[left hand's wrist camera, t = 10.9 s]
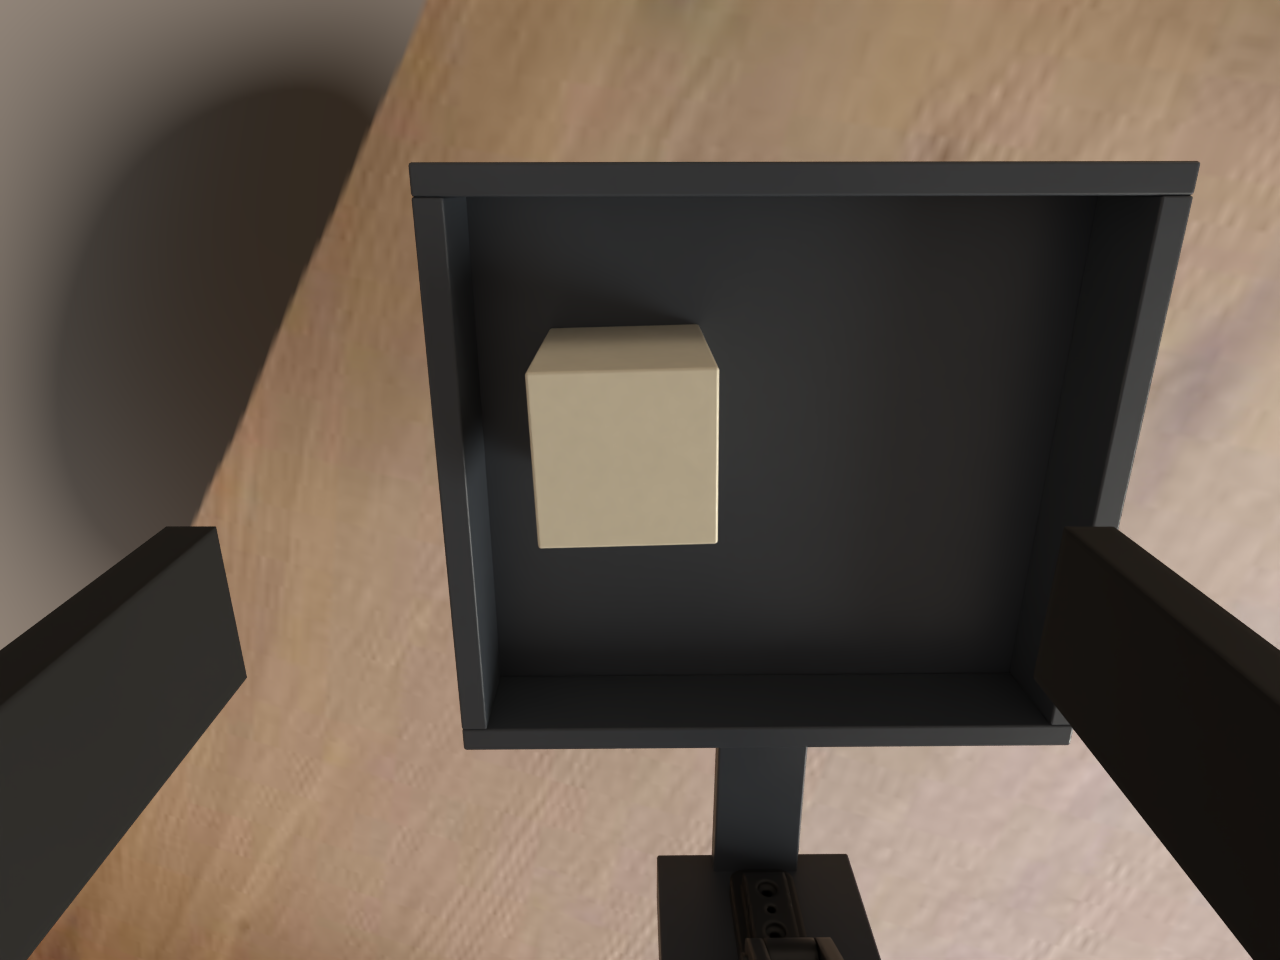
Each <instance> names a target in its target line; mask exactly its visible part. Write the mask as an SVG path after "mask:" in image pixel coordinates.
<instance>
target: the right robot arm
mask: <svg viewBox="0 0 1280 960" xmlns="http://www.w3.org/2000/svg"><path fill="white" fill-rule="evenodd" d="M729 897H730V904H731V911H732V918H733V926H734V933H735V940H736V948H737V955H738V960H844V959H843V957H842V956H841V954H840V952H839V950H838V949H837V947H836V945H835V944H834V942H833V940H832V939H831V938H830V937H814V938H813V937H807V935H806V930H805V926H804V922H803V918H802V913H801V909H800V905H799V900H798V896H797V892H796V887H795V883H794V879H793V877H792V876H791V875H790V874H789V873H788V872H786V871H784V870H780V869H758V870H738V871H735V872H734V873H733V874H732V875H731V877H730V888H729Z"/></svg>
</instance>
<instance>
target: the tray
mask: <svg viewBox="0 0 1280 960" xmlns="http://www.w3.org/2000/svg"><path fill="white" fill-rule="evenodd" d="M1199 167H1200V162H1198V161H975V162H411V163H409V175H410V186H411V194H412V196H414V197H413V198H412V207H413V218H414V228H415V239H416V249H417V260H418V270H419V281H420V291H421V302H422V312H423V323H424V333H425V344H426V354H427V365H428V375H429V386H430V396H431V407H432V417H433V428H434V438H435V449H436V459H437V470H438V480H439V491H440V501H441V512H442V522H443V533H444V543H445V554H446V564H447V575H448V585H449V596H450V606H451V617H452V627H453V638H454V648H455V659H456V669H457V680H458V690H459V701H460V711H461V722H462V728H463V742H464V748H465V749H466V750H486V749H615V748H716V758H715V784H714V811H713V837H712V855H668V856H658V857H657V914H658V943H659V960H738V955H737V948H736V940H735V933H734V926H733V918H732V911H731V904H730V897H729V888H730V877H731V875H732V874H733V873H734V872H735V871H738V870H758V869H780V870H784V871H786V872H788V873H789V874H790V875H791V876H792V877H793V879H794V883H795V887H796V892H797V896H798V900H799V905H800V909H801V913H802V918H803V922H804V926H805V930H806V935H807V937H813V938H814V937H830V938H831V939H832V940H833V942H834V944H835V945H836V947H837V949H838V950H839V952H840V954H841V956H842V957H843V959H844V960H881V958H880V955H879V952H878V949H877V946H876V943H875V940H874V937H873V933H872V930H871V927H870V924H869V921H868V918H867V915H866V911H865V908H864V905H863V902H862V899H861V896H860V893H859V890H858V886H857V883H856V880H855V877H854V874H853V871H852V868H851V865H850V861H849V858H848V855H847V854H798V850H799V839H800V827H801V815H802V804H803V792H804V781H805V769H806V757H807V747H874V746H1003V745H1069V744H1070V741H1071V736H1072V732H1073V728H1072V727H1071V725H1070V724H1069V723H1068V722H1067V720H1066V719H1065V718H1064V716H1063V715H1062V714H1061V713H1060V711H1059V710H1058V709H1057V708H1056V706H1055V705H1054V704H1053V702H1052V701H1051V700H1050V699H1049V697H1048V696H1047V695H1046V693H1045V692H1044V691H1043V690H1042V688H1041V687H1040V686H1039V684H1038V683H1037V682H1036V681H1035V679H1034V678H1033V675H1034V671H1035V666H1036V661H1037V656H1038V651H1039V646H1040V641H1041V637H1042V632H1043V627H1044V622H1045V617H1046V612H1047V607H1048V602H1049V598H1050V593H1051V588H1052V583H1053V578H1054V573H1055V568H1056V564H1057V559H1058V554H1059V549H1060V544H1061V539H1062V534H1063V529H1064V527H1115V528H1116V529H1118V528H1119V524H1120V519H1121V515H1122V510H1123V506H1124V501H1125V497H1126V492H1127V488H1128V484H1129V479H1130V475H1131V470H1132V466H1133V461H1134V457H1135V452H1136V448H1137V443H1138V439H1139V435H1140V430H1141V426H1142V421H1143V417H1144V412H1145V408H1146V403H1147V399H1148V394H1149V390H1150V386H1151V381H1152V377H1153V372H1154V368H1155V363H1156V359H1157V354H1158V350H1159V345H1160V341H1161V337H1162V332H1163V328H1164V323H1165V319H1166V314H1167V310H1168V305H1169V301H1170V296H1171V292H1172V288H1173V283H1174V279H1175V274H1176V270H1177V265H1178V261H1179V256H1180V252H1181V247H1182V243H1183V239H1184V234H1185V230H1186V225H1187V221H1188V216H1189V212H1190V207H1191V203H1192V196H1190V195H1192V194H1193V193H1194V189H1195V184H1196V180H1197V176H1198V171H1199ZM691 324H697V325H699V327H700V329H701V331H702V334H703V336H704V338H705V340H706V342H707V344H708V347H709V349H710V351H711V353H712V355H713V357H714V360H715V362H716V364H717V366H718V368H719V450H718V541H717V543H715V544H682V545H646V546H609V547H573V548H539V546H538V538H537V525H536V512H535V499H534V486H533V473H532V460H531V447H530V434H529V421H528V408H527V395H526V382H525V374H526V372H527V370H528V368H529V366H530V364H531V363H532V361H533V359H534V357H535V355H536V353H537V352H538V350H539V348H540V346H541V344H542V343H543V341H544V339H545V337H546V335H547V334H548V332H549V330H550V329H551V328H582V327H618V326H654V325H691Z"/></svg>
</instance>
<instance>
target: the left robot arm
mask: <svg viewBox="0 0 1280 960" xmlns="http://www.w3.org/2000/svg"><path fill="white" fill-rule="evenodd" d="M246 678H247V675H246V671H245V666H244V661H243V656H242V651H241V646H240V641H239V637H238V632H237V627H236V622H235V617H234V612H233V607H232V602H231V598H230V593H229V588H228V583H227V578H226V573H225V568H224V564H223V559H222V554H221V549H220V544H219V539H218V534H217V529H216V527H165V528H164V529H163V530H161V531H160V532H159V533H157V534H156V535H154V536H153V537H152V538H150V539H149V540H148V541H146V542H145V543H144V544H142V545H141V546H140V547H138V548H137V549H136V550H134V551H133V552H132V553H130V554H129V555H128V556H126V557H125V558H124V559H122V560H121V561H120V562H118V563H117V564H116V565H114V566H113V567H112V568H110V569H109V570H108V571H106V572H105V573H104V574H102V575H101V576H99V577H98V578H97V579H96V580H94V581H93V582H91V583H90V584H89V585H87V586H86V587H85V588H83V589H82V590H81V591H79V592H78V593H77V594H75V595H74V596H73V597H71V598H70V599H69V600H67V601H66V602H65V603H63V604H62V605H61V606H59V607H58V608H57V609H55V610H54V611H53V612H51V613H50V614H49V615H47V616H46V617H44V618H43V619H42V620H40V621H39V622H38V623H36V624H35V625H34V626H32V627H31V628H30V629H28V630H27V631H26V632H24V633H23V634H22V635H20V636H19V637H18V638H16V639H15V640H14V641H12V642H11V643H10V644H8V645H7V646H6V647H4V648H3V649H2V650H0V960H27V959H28V958H29V956H30V955H31V954H32V952H33V951H34V950H35V949H36V947H37V946H38V945H39V943H40V942H41V941H42V940H43V938H44V937H45V936H46V934H47V933H48V932H49V931H50V929H51V928H52V927H53V925H54V924H55V923H56V922H57V920H58V919H59V918H60V917H61V915H62V914H63V913H64V911H65V910H66V909H67V908H68V906H69V905H70V904H71V902H72V901H73V900H74V899H75V897H76V896H77V895H78V893H79V892H80V891H81V890H82V888H83V887H84V886H85V884H86V883H87V882H88V881H89V879H90V878H91V877H92V875H93V874H94V873H95V872H96V870H97V869H98V868H99V866H100V865H101V864H102V863H103V861H104V860H105V859H106V858H107V856H108V855H109V854H110V852H111V851H112V850H113V849H114V847H115V846H116V845H117V843H118V842H119V841H120V840H121V838H122V837H123V836H124V834H125V833H126V832H127V831H128V829H129V828H130V827H131V825H132V824H133V823H134V822H135V820H136V819H137V818H138V816H139V815H140V814H141V813H142V811H143V810H144V809H145V808H146V806H147V805H148V804H149V802H150V801H151V800H152V799H153V797H154V796H155V795H156V793H157V792H158V791H159V790H160V788H161V787H162V786H163V784H164V783H165V782H166V781H167V779H168V778H169V777H170V775H171V774H172V773H173V772H174V770H175V769H176V768H177V766H178V765H179V764H180V763H181V761H182V760H183V759H184V758H185V756H186V755H187V754H188V752H189V751H190V750H191V749H192V747H193V746H194V745H195V743H196V742H197V741H198V740H199V738H200V737H201V736H202V734H203V733H204V732H205V731H206V729H207V728H208V727H209V725H210V724H211V723H212V722H213V720H214V719H215V718H216V716H217V715H218V714H219V713H220V711H221V710H222V709H223V708H224V706H225V705H226V704H227V702H228V701H229V700H230V699H231V697H232V696H233V695H234V693H235V692H236V691H237V690H238V688H239V687H240V686H241V684H242V683H243V682H244V681H245V679H246ZM1033 678H1034V679H1035V681H1036V682H1037V683H1038V684H1039V686H1040V687H1041V688H1042V690H1043V691H1044V692H1045V693H1046V695H1047V696H1048V697H1049V699H1050V700H1051V701H1052V702H1053V704H1054V705H1055V706H1056V708H1057V709H1058V710H1059V711H1060V713H1061V714H1062V715H1063V716H1064V718H1065V719H1066V720H1067V722H1068V723H1069V724H1070V725H1071V727H1072V728H1073V729H1074V731H1075V732H1076V733H1077V734H1078V736H1079V737H1080V738H1081V740H1082V741H1083V742H1084V743H1085V745H1086V746H1087V747H1088V749H1089V750H1090V751H1091V752H1092V754H1093V755H1094V756H1095V758H1096V759H1097V760H1098V761H1099V763H1100V764H1101V765H1102V766H1103V768H1104V769H1105V770H1106V772H1107V773H1108V774H1109V775H1110V777H1111V778H1112V779H1113V781H1114V782H1115V783H1116V784H1117V786H1118V787H1119V788H1120V790H1121V791H1122V792H1123V793H1124V795H1125V796H1126V797H1127V799H1128V800H1129V801H1130V802H1131V804H1132V805H1133V806H1134V808H1135V809H1136V810H1137V811H1138V813H1139V814H1140V815H1141V816H1142V818H1143V819H1144V820H1145V822H1146V823H1147V824H1148V825H1149V827H1150V828H1151V829H1152V831H1153V832H1154V833H1155V834H1156V836H1157V837H1158V838H1159V840H1160V841H1161V842H1162V843H1163V845H1164V846H1165V847H1166V849H1167V850H1168V851H1169V852H1170V854H1171V855H1172V856H1173V858H1174V859H1175V860H1176V861H1177V863H1178V864H1179V865H1180V866H1181V868H1182V869H1183V870H1184V872H1185V873H1186V874H1187V875H1188V877H1189V878H1190V879H1191V881H1192V882H1193V883H1194V884H1195V886H1196V887H1197V888H1198V890H1199V891H1200V892H1201V893H1202V895H1203V896H1204V897H1205V899H1206V900H1207V901H1208V902H1209V904H1210V905H1211V906H1212V908H1213V909H1214V910H1215V911H1216V913H1217V914H1218V915H1219V916H1220V918H1221V919H1222V920H1223V922H1224V923H1225V924H1226V925H1227V927H1228V928H1229V929H1230V931H1231V932H1232V933H1233V934H1234V936H1235V937H1236V938H1237V940H1238V941H1239V942H1240V943H1241V945H1242V946H1243V947H1244V949H1245V950H1246V951H1247V952H1248V954H1249V955H1250V956H1251V958H1252V959H1253V960H1280V650H1278V649H1277V648H1276V647H1274V646H1273V645H1272V644H1270V643H1269V642H1268V641H1266V640H1265V639H1264V638H1262V637H1261V636H1260V635H1258V634H1257V633H1256V632H1254V631H1253V630H1252V629H1250V628H1249V627H1248V626H1246V625H1245V624H1244V623H1242V622H1241V621H1240V620H1238V619H1237V618H1236V617H1234V616H1233V615H1232V614H1230V613H1229V612H1227V611H1226V610H1225V609H1223V608H1222V607H1221V606H1219V605H1218V604H1217V603H1215V602H1214V601H1213V600H1211V599H1210V598H1209V597H1207V596H1206V595H1205V594H1203V593H1202V592H1201V591H1199V590H1198V589H1197V588H1195V587H1194V586H1193V585H1191V584H1190V583H1189V582H1187V581H1186V580H1185V579H1183V578H1182V577H1181V576H1179V575H1178V574H1177V573H1175V572H1174V571H1172V570H1171V569H1170V568H1168V567H1167V566H1166V565H1164V564H1163V563H1162V562H1160V561H1159V560H1158V559H1156V558H1155V557H1154V556H1152V555H1151V554H1150V553H1148V552H1147V551H1146V550H1144V549H1143V548H1142V547H1140V546H1139V545H1138V544H1136V543H1135V542H1134V541H1132V540H1131V539H1130V538H1128V537H1127V536H1126V535H1124V534H1123V533H1122V532H1120V531H1119V530H1118V529H1116V528H1115V527H1064V529H1063V534H1062V539H1061V544H1060V549H1059V554H1058V559H1057V564H1056V568H1055V573H1054V578H1053V583H1052V588H1051V593H1050V598H1049V602H1048V607H1047V612H1046V617H1045V622H1044V627H1043V632H1042V637H1041V641H1040V646H1039V651H1038V656H1037V661H1036V666H1035V671H1034V675H1033Z"/></svg>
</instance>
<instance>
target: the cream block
mask: <svg viewBox="0 0 1280 960" xmlns="http://www.w3.org/2000/svg"><path fill="white" fill-rule="evenodd" d="M525 382H526V395H527V408H528V421H529V434H530V447H531V460H532V473H533V486H534V499H535V512H536V525H537V538H538V546H539V548H573V547H609V546H646V545H682V544H715V543H717V541H718V450H719V368H718V366H717V364H716V362H715V360H714V357H713V355H712V353H711V351H710V349H709V347H708V344H707V342H706V340H705V338H704V336H703V334H702V331H701V329H700V327H699V325H697V324H691V325H654V326H618V327H582V328H551V329H550V330H549V332H548V334H547V335H546V337H545V339H544V341H543V343H542V344H541V346H540V348H539V350H538V352H537V353H536V355H535V357H534V359H533V361H532V363H531V364H530V366H529V368H528V370H527V372H526V374H525Z"/></svg>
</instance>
